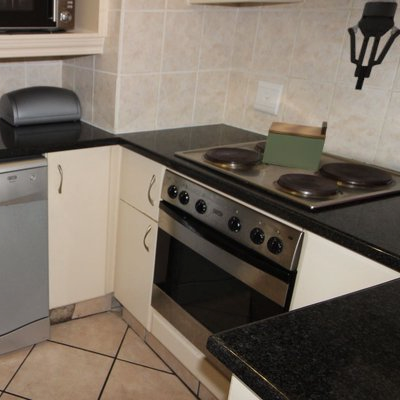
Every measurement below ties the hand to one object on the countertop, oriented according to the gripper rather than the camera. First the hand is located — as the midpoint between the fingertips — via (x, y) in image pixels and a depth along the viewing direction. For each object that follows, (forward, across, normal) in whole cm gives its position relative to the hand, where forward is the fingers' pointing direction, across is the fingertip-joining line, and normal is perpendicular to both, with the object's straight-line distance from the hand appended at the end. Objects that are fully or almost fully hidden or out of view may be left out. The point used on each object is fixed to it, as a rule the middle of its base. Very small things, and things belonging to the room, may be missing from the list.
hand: (358, 89), depth 139 cm
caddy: (+24, +13, 0) cm, 28 cm away
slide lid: (+14, +13, 0) cm, 19 cm away
